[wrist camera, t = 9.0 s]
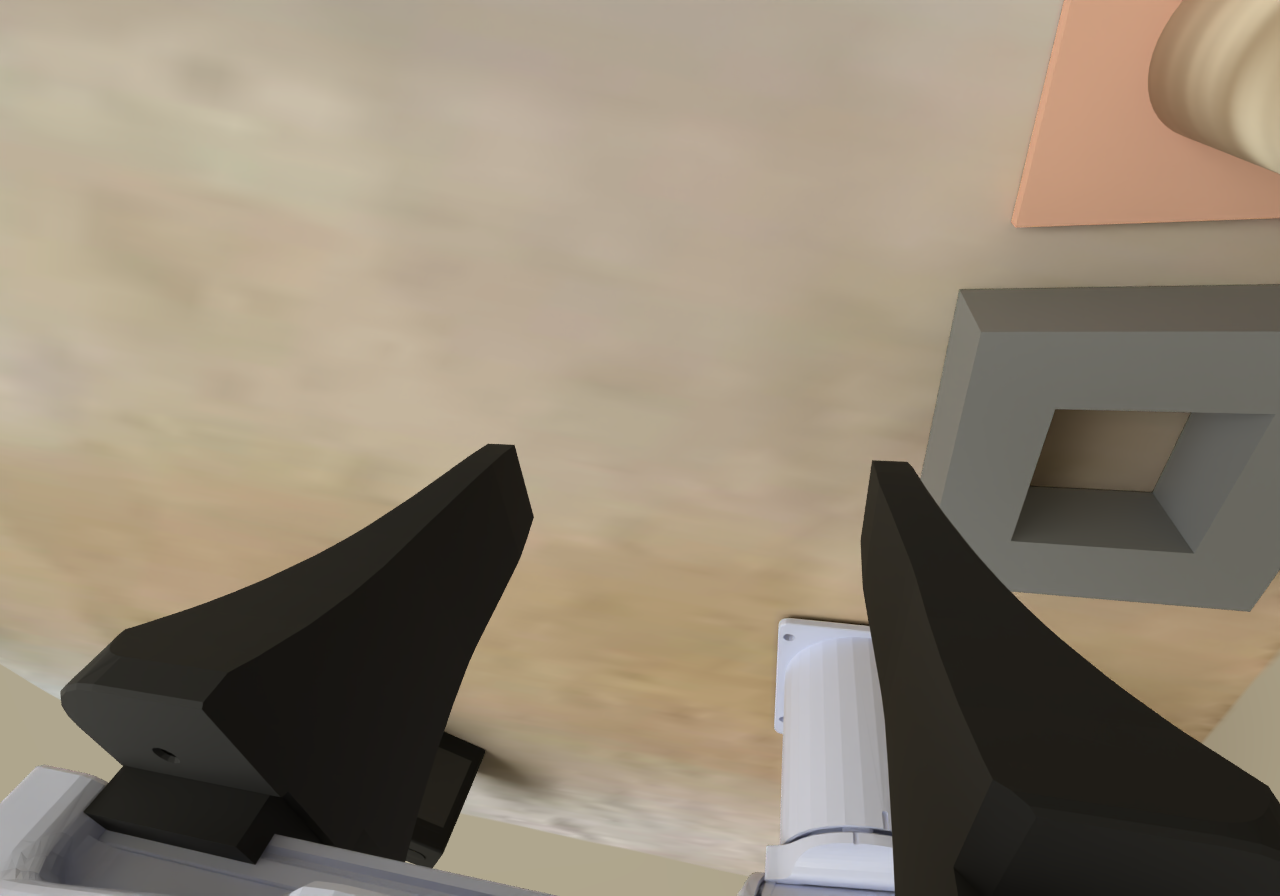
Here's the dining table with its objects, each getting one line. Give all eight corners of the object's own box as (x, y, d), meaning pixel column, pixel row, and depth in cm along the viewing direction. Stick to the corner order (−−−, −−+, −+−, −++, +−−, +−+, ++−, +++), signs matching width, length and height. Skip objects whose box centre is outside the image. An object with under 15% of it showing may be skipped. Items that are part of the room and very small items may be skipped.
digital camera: (492, 743, 44) (447, 850, 39) (474, 770, 47) (431, 873, 42) (355, 683, 43) (290, 785, 38) (347, 716, 46) (286, 814, 41)
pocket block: (1203, 546, 23) (1249, 611, 20) (910, 527, 25) (921, 584, 23) (1358, 283, 17) (1449, 330, 15) (959, 289, 19) (981, 331, 17)
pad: (1355, 209, 16) (1369, 214, 16) (1011, 221, 18) (1015, 227, 17) (1601, -242, 11) (1629, -250, 11) (1103, -162, 13) (1111, -167, 13)
